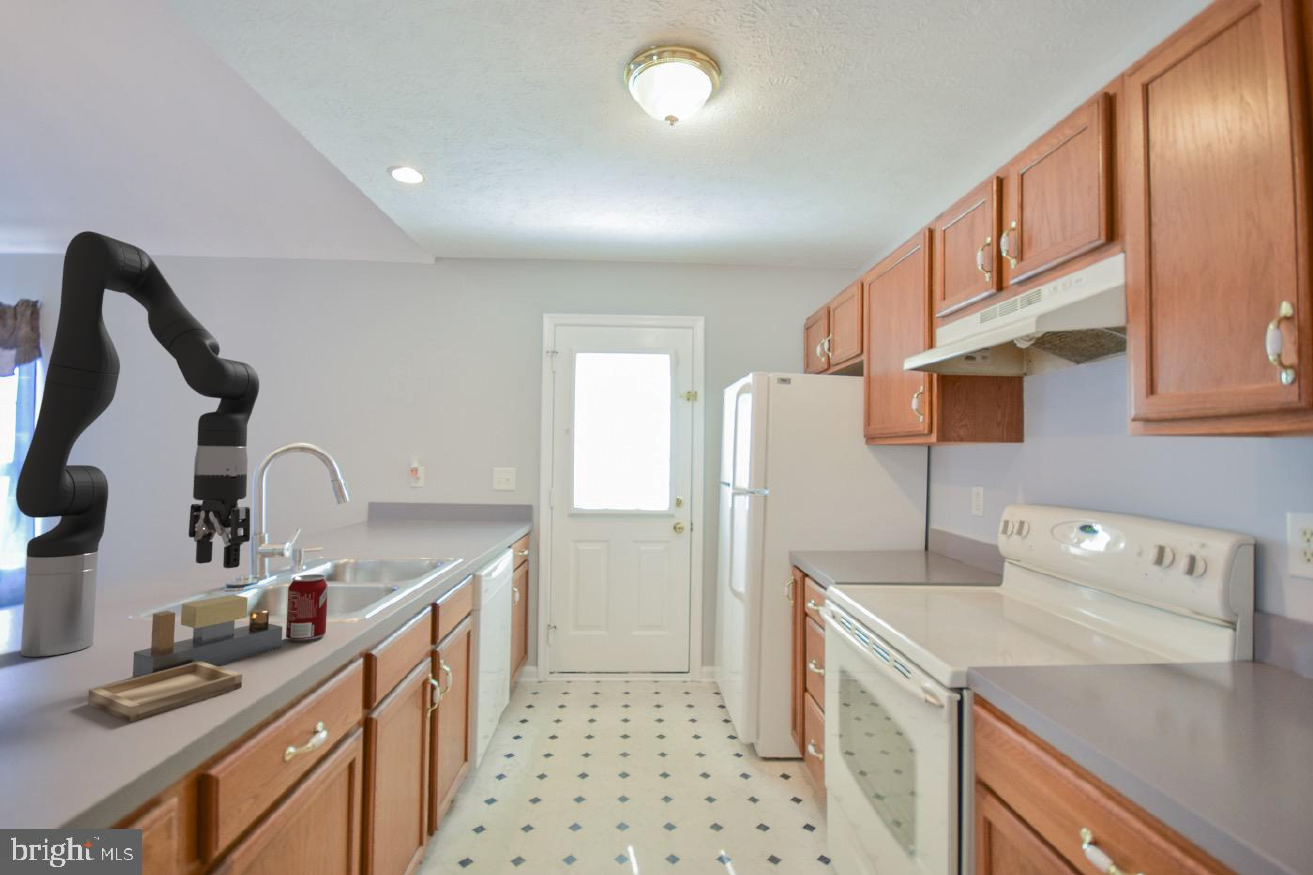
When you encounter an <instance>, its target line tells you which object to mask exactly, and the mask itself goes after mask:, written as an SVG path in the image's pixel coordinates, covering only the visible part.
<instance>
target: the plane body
mask: <svg viewBox="0 0 1313 875" xmlns="http://www.w3.org/2000/svg"><path fill="white" fill-rule="evenodd" d="M235 621H236V620H233V621H228V622H223V623H219V624H214V625H210V626H205V627H200V628H196V629H195V628H193V629H192V630H193V631H192V638H188V639H183V640H179V641H175V628H176V627H175V624H176V612H173V611H170V610H166V611H165V610H164V611H159V612H156V613H155V612H154V613H152V625H151V645H150V647H149V648H145V649H141V650H137V651H134V652H133V660H132V661H133V664H132V666H133V667H132V678H136V677H140V676H144V675H148V674H151V673H155V672H159V671H163V670H167V669H170V668H174V667H178V666H182V665H186V664H190V663H193V662H197V661H202V662H205V663H208V664H211V665H214V666H218V667H220V666H222V665H227V664H230V663H234V662H236V661H240V660H244V658H245V659H248V658H252V657H255V655H256V656H259V655H262V653H263V654H266V652H267V653H270V652H273V651H272V650H274V651H277V650H281V649H282V644H283V642H282V640H283V626H281V625H277V624H273V623H269V622H270V609H266V608H265V609H262V608H261V609H254V610H251V611H249V621H248V622H249V623H248V625H245V626H240V627H236V628H235ZM276 649H277V650H276ZM269 651H270V652H269ZM258 654H259V655H258ZM251 656H252V657H251ZM247 657H248V658H247Z"/></svg>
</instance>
